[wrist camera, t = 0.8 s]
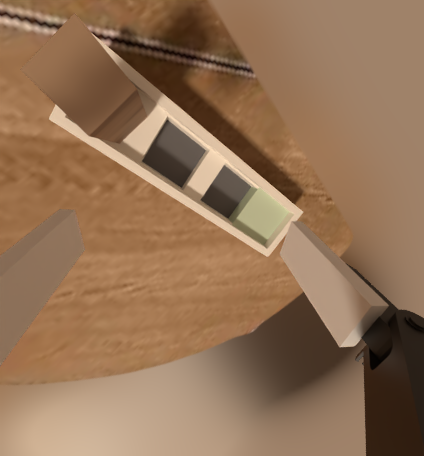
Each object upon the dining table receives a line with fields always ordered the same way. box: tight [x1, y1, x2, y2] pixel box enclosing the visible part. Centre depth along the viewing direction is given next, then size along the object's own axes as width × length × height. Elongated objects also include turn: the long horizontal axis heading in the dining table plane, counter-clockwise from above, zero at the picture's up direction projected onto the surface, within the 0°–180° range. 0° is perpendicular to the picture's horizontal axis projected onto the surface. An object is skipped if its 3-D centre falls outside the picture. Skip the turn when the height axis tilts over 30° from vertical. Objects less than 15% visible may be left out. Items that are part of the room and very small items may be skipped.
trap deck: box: [49, 34, 303, 257], centre depth 30 cm, size 36×10×4 cm, turn 54°
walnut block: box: [20, 13, 147, 144], centre depth 19 cm, size 5×5×12 cm
